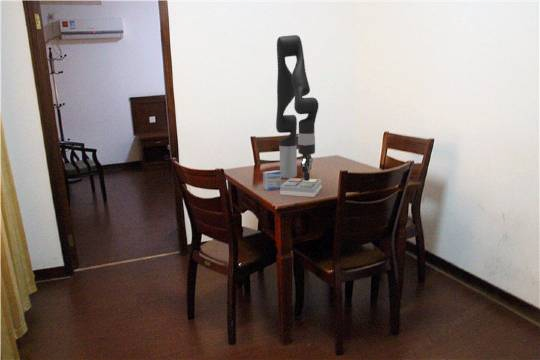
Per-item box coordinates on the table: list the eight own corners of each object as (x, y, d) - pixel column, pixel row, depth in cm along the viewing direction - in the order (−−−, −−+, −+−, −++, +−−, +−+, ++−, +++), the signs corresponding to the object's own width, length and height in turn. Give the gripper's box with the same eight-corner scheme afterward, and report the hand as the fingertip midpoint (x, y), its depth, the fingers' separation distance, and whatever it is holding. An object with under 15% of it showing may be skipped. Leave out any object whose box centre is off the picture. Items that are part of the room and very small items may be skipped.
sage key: (303, 186, 189) (303, 182, 189) (313, 186, 187) (313, 183, 187) (300, 189, 184) (300, 185, 184) (311, 189, 183) (311, 186, 182)
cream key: (307, 182, 196) (307, 178, 195) (317, 182, 194) (317, 179, 194) (304, 184, 191) (304, 181, 191) (314, 185, 190) (314, 182, 189)
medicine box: (266, 190, 194) (266, 173, 191) (263, 188, 198) (262, 171, 195) (281, 188, 197) (281, 171, 194) (277, 186, 201) (277, 169, 198)
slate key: (288, 185, 191) (288, 181, 191) (298, 185, 190) (298, 182, 189) (285, 188, 187) (284, 184, 186) (295, 188, 185) (295, 185, 185)
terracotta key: (292, 181, 198) (292, 178, 198) (302, 182, 197) (302, 178, 196) (289, 184, 194) (289, 180, 193) (299, 184, 192) (299, 181, 192)
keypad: (290, 185, 201) (290, 178, 200) (321, 187, 196) (321, 179, 195) (280, 194, 187) (280, 186, 186) (314, 197, 181) (314, 188, 180)
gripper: (302, 140, 188) (302, 176, 192) (294, 145, 176) (295, 183, 180) (318, 141, 185) (318, 177, 190) (311, 145, 173) (311, 184, 178)
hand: (306, 180), depth 185 cm, fingers closed
